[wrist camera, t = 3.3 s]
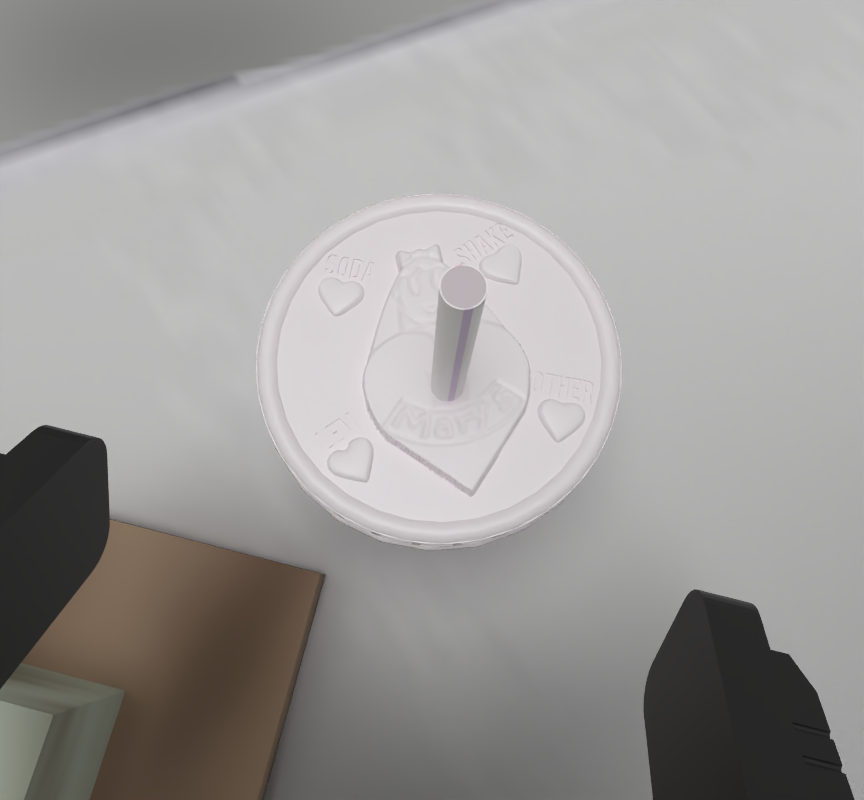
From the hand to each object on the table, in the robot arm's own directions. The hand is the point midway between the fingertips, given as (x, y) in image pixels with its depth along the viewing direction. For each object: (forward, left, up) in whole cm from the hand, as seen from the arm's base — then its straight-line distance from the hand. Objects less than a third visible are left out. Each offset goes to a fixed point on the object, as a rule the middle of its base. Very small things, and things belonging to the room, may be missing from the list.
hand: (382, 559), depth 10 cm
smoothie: (0, -4, -12) cm, 12 cm away
